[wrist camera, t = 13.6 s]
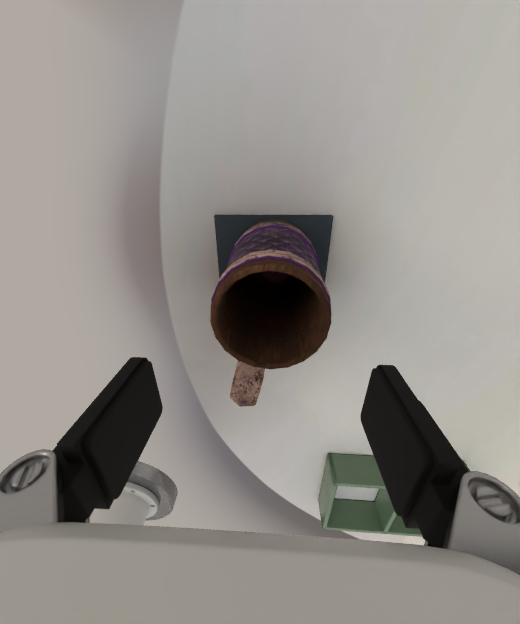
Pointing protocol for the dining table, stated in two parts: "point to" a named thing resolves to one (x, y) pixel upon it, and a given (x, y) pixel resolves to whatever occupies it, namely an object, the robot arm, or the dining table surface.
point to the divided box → (353, 511)
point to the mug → (269, 305)
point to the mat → (237, 225)
